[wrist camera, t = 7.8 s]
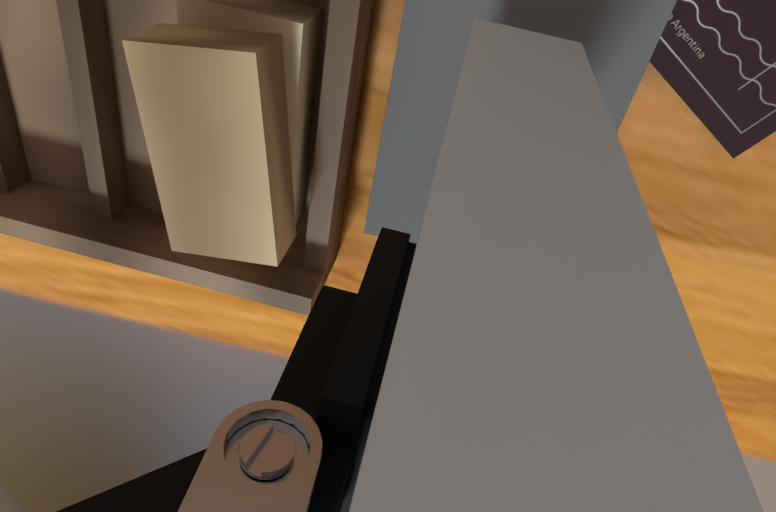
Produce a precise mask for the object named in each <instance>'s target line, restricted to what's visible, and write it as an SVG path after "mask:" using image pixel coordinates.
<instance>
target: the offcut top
mask: <svg viewBox="0 0 776 512" xmlns="http://www.w3.org/2000/svg"><path fill="white" fill-rule="evenodd" d="M122 43H123V47H124V52H125V56H126V60H127V64H128V69H129V73H130V77H131V81H132V85H133V90H134V94H135V98H136V102H137V107H138V111H139V115H140V119H141V123H142V128H143V132H144V136H145V140H146V144H147V149H148V153H149V157H150V161H151V166H152V170H153V174H154V178H155V182H156V187H157V191H158V195H159V199H160V204H161V208H162V212H163V216H164V220H165V225H166V229H167V233H168V237H169V241H170V246H171V250H172V251H176V252H183V253H190V254H196V255H203V256H210V257H216V258H223V259H230V260H236V261H243V262H250V263H257V264H263V265H270V266H277V267H278V265H279V264H280V262H281V260H282V259H283V257H284V255H285V254H286V252H287V250H288V249H289V247H290V245H291V244H292V242H293V240H294V239H295V237H296V235H297V233H296V220H295V206H294V193H293V179H292V166H291V153H290V139H289V126H288V112H287V99H286V86H285V72H284V59H283V45H282V34H275V33H264V32H253V31H242V30H231V29H219V28H208V27H197V26H186V25H175V24H163V23H159V24H157V25H154V26H152V27H150V28H148V29H146V30H143V31H141V32H139V33H137V34H134V35H132V36H130V37H128V38H126V39H123V40H122Z"/></svg>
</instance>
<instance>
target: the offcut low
mask: <svg viewBox="0 0 776 512" xmlns="http://www.w3.org/2000/svg"><path fill="white" fill-rule="evenodd" d="M176 3H177V21H178V25H186V26H197V27H208V28H219V29H231V30H242V31H253V32H264V33H275V34H282V45H283V59H284V72H285V86H286V99H287V112H288V126H289V139H290V153H291V166H292V179H293V193H294V206H295V220H296V223H297V222H298V220H299V218H300V217H301V215H302V214H303V212H304V202H305V191H306V181H307V170H308V160H309V149H310V139H311V128H312V118H313V107H314V97H315V86H316V76H317V65H318V55H319V44H320V34H321V23H322V13H323V9H321V8H317V7H312V6H308V5H304V4H300V3H295V2H291V1H287V0H176Z"/></svg>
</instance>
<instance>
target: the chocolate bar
mask: <svg viewBox="0 0 776 512" xmlns="http://www.w3.org/2000/svg"><path fill="white" fill-rule="evenodd" d="M650 63H651V64H652V65H653V66H654V67H655V68H656V69H657V71H658V72H659V73H660V74H661V75H662V76H663V78H664V79H665V80H666V81H667V82H668V83H669V84H670V86H671V87H672V88H673V89H674V90H675V91H676V93H677V94H678V95H679V96H680V97H681V98H682V100H683V101H684V102H685V103H686V104H687V105H688V106H689V108H690V109H691V110H692V111H693V112H694V113H695V115H696V116H697V117H698V118H699V119H700V120H701V121H702V123H703V124H704V125H705V126H706V127H707V128H708V130H709V131H710V132H711V133H712V134H713V135H714V137H715V138H716V139H717V140H718V141H719V142H720V143H721V145H722V146H723V147H724V148H725V149H726V150H727V152H728V153H729V154H730V155H731V156H732V157H733V158H735V157H736V156H738V155H739V154H741V153H743V152H744V151H746V150H747V149H749V148H750V147H752V146H753V145H755V144H756V143H758V142H760V141H761V140H763V139H764V138H766V137H767V136H769V135H770V134H772V133H773V132H775V131H776V0H677V1H676V4H675V6H674V8H673V10H672V12H671V15H670V17H669V19H668V21H667V23H666V26H665V28H664V30H663V32H662V34H661V37H660V39H659V41H658V43H657V45H656V48H655V50H654V52H653V54H652V56H651V59H650Z"/></svg>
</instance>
